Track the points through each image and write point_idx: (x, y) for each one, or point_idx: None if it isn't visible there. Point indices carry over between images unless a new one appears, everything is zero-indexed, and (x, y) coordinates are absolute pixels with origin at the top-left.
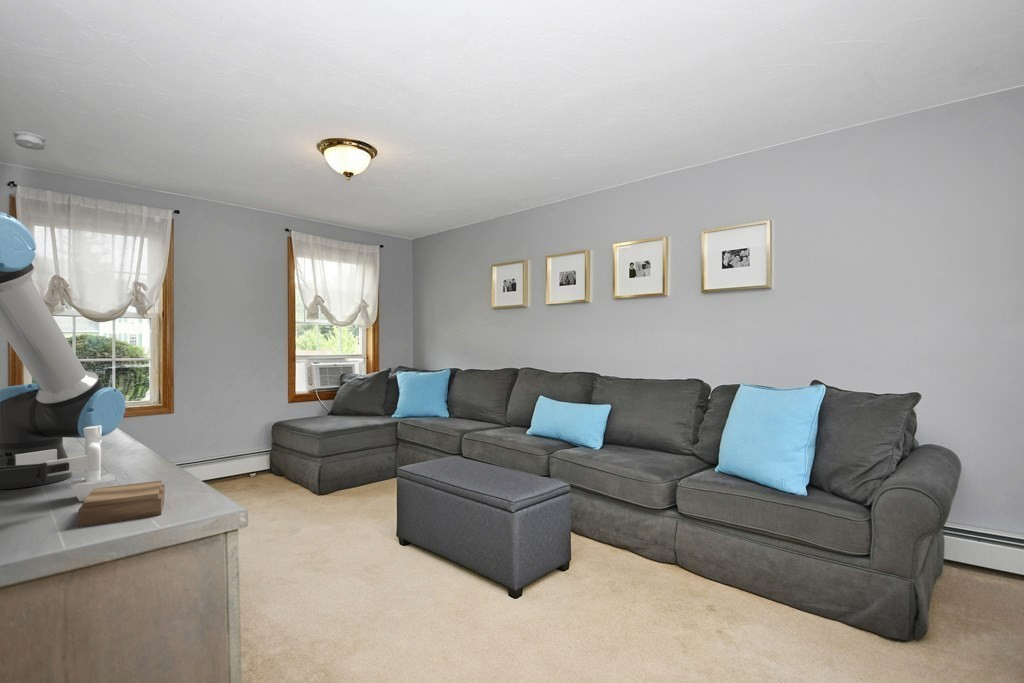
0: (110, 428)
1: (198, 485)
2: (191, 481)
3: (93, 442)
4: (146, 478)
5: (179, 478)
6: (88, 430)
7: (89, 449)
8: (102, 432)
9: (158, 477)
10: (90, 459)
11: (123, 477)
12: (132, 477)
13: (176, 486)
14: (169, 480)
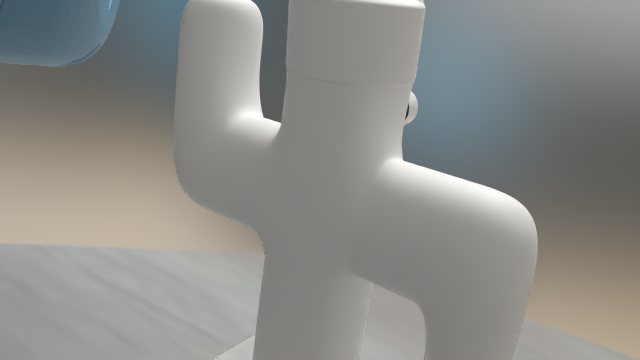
0: (111, 20)
1: (580, 342)
2: None
3: (388, 152)
4: (237, 273)
5: None
6: (397, 27)
7: (513, 252)
8: (100, 41)
9: None
10: (502, 350)
11: (112, 261)
12: (157, 262)
13: None
14: None
